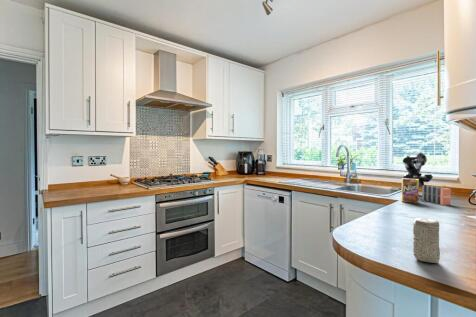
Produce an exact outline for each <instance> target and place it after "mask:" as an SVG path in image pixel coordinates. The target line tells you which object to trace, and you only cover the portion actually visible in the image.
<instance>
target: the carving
mask: <svg viewBox="0 0 476 317" xmlns="http://www.w3.org/2000/svg"><path fill="white" fill-rule="evenodd" d="M412 233H413V238H412V239H413V242H412V244H413V245H412V246H413V248H412V249H413V251H412V252H413V256H414V258H415V259H416V260H418V261H420V262H425V263H431V264H438V263H439V262H440V258H441V250H440V222H439V221H437V220H435V219H430V218H423V217H422V218H421V217H417V218H414V221H413V231H412Z"/></svg>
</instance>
